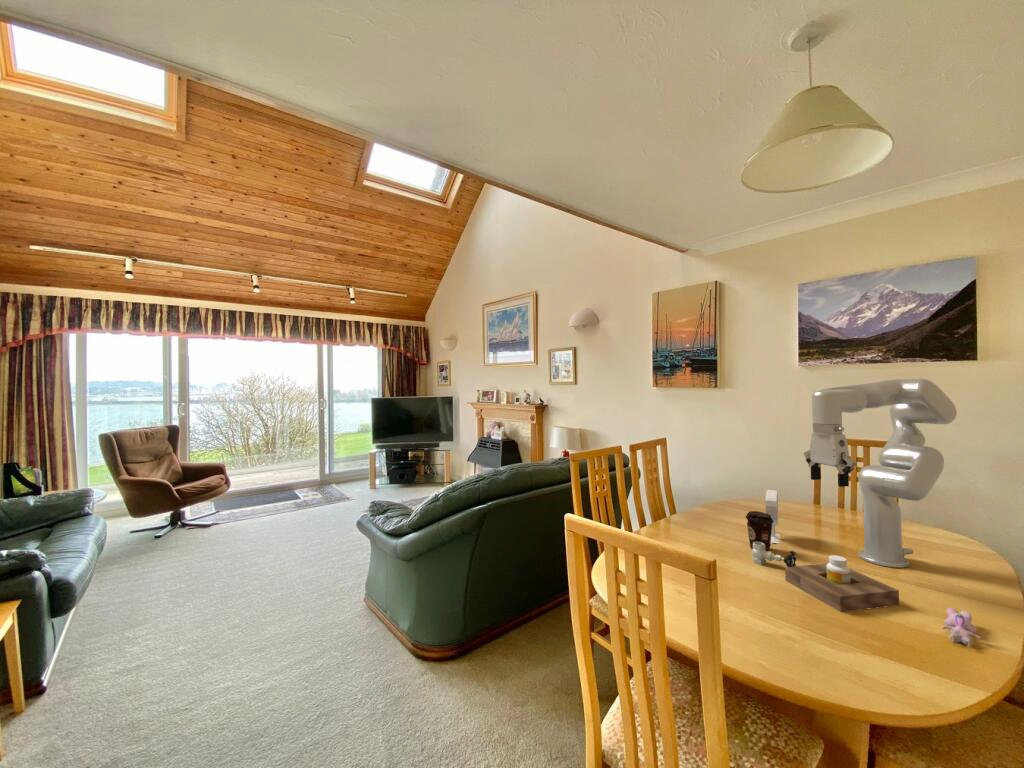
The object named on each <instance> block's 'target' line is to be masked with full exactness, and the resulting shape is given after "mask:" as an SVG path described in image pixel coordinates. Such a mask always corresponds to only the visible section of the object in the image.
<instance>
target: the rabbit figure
mask: <svg viewBox="0 0 1024 768" xmlns="http://www.w3.org/2000/svg"><path fill="white" fill-rule="evenodd" d="M946 614H947V616H948V617H947V618H945V619H944V621H943V622H944V624H945V626H944V625H942V626H940V628H942V629H943V630H945V629H948V630H950V631H949V639H950V640H951V642H950V644H952V645H953V646H955V645H956V646H957V645H958V643H962V644H963V645H964V646H966V649H967V648H968V649H969V650H971V649H973V647H972V646H973V642H974V641H973V638H972V637H975V638H977V639H978V640H980V639H982V637H981V636H979V635H977V634H976V633H975V632H976V631H977V629H976V627H975V626H974V625H973V623H972V622H971V621H973V617H972V615H971V613H970V612H968V611H966V610H961V611H960V612H958V610H957V609H956V608H953V607H947V609H946ZM954 644H955V645H954Z"/></svg>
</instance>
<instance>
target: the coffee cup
mask: <svg viewBox="0 0 1024 768" xmlns="http://www.w3.org/2000/svg"><path fill="white" fill-rule="evenodd" d="M745 519H747V522H746V525H747V533H748V535H747V536H748V540H749V547H750V549H751V550H753V542H762V543H764V544H765V551H767V552H768V551H771V549H770V548H771V545H772V544H771V532H772V531H771V530H772V523H773V520H772V518H771V516H770V515H769V514H766V512H763V511H760V510H759V511H758V510H757V511H756V510H755V511H754V510H750V511H748V512H747V514H746V515H745Z"/></svg>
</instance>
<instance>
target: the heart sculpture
mask: <svg viewBox="0 0 1024 768" xmlns="http://www.w3.org/2000/svg"><path fill="white" fill-rule="evenodd" d="M765 513H766V514H769V515H770V516H771V518H772V520H773V523H772V530H771V531H772V532H771V543H772V542H773V543H780V544H781V540H779V539H780V535H781V534H779V533H776V526H779V499H778V490H775V489H774V490H773V489H766V492H765ZM775 533H776V534H775ZM779 541H780V542H779Z"/></svg>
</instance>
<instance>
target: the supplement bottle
mask: <svg viewBox="0 0 1024 768" xmlns="http://www.w3.org/2000/svg"><path fill="white" fill-rule="evenodd" d="M828 560H829V561H828V562H827V563H826V564H827V567H826V568H827V579H828V580H830V581H832V582H834V583H836V584H838V585H843V584H851V579H850V569H851V568H850V569H849V566H847V565H848V561H847V559H846V557H843V556H840V555H834V554H833V555H829V557H828Z"/></svg>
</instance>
